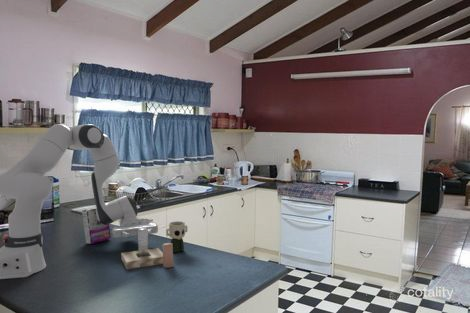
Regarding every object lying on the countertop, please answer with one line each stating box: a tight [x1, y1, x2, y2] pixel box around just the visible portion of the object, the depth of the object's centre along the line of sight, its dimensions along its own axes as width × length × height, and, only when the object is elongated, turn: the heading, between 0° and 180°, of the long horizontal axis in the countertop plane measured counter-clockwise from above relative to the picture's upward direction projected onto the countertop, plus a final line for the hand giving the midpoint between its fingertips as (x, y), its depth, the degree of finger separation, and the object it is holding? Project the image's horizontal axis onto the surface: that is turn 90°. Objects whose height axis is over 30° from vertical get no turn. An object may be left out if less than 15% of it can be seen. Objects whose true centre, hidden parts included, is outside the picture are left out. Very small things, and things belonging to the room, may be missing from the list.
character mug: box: [165, 221, 188, 253], centre depth 176 cm, size 11×7×13 cm, turn 129°
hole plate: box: [120, 247, 163, 270], centre depth 163 cm, size 16×12×3 cm
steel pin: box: [137, 228, 149, 258], centre depth 163 cm, size 4×4×14 cm
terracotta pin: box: [162, 242, 174, 269], centre depth 158 cm, size 4×4×9 cm
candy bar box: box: [81, 207, 112, 245], centre depth 190 cm, size 11×5×16 cm, turn 143°
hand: (138, 234), depth 171 cm, fingers open, 8 cm apart
